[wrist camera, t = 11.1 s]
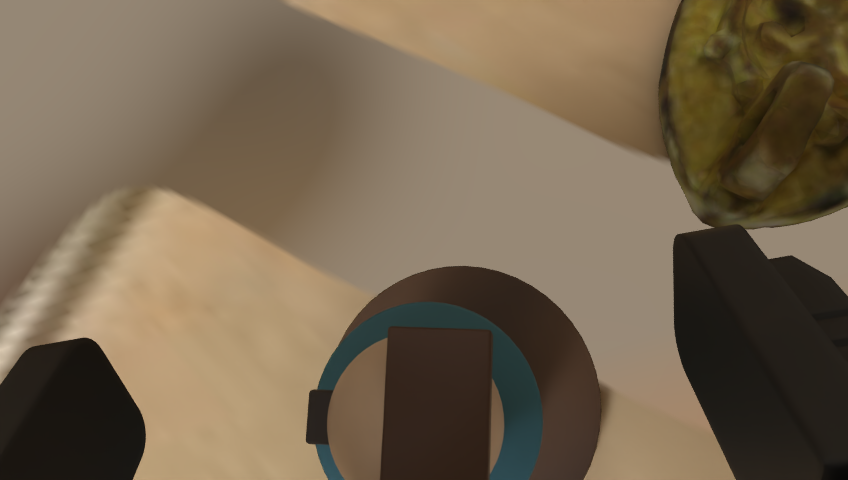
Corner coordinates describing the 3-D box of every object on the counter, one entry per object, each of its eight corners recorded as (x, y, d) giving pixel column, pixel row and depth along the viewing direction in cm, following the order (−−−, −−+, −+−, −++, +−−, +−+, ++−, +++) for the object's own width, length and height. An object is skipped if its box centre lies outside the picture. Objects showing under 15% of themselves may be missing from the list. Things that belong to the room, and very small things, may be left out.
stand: (636, 337, 22) (645, 334, 21) (530, 589, 21) (532, 605, 20) (403, 234, 24) (395, 224, 22) (293, 462, 23) (278, 468, 21)
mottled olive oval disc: (772, -149, 26) (589, 180, 24) (812, -267, 22) (591, 124, 20) (1045, -77, 23) (860, 304, 21) (1156, -196, 19) (933, 271, 17)
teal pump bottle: (532, 333, 21) (553, 284, 10) (530, 481, 20) (550, 600, 9) (388, 328, 22) (264, 277, 11) (380, 472, 21) (236, 573, 10)
